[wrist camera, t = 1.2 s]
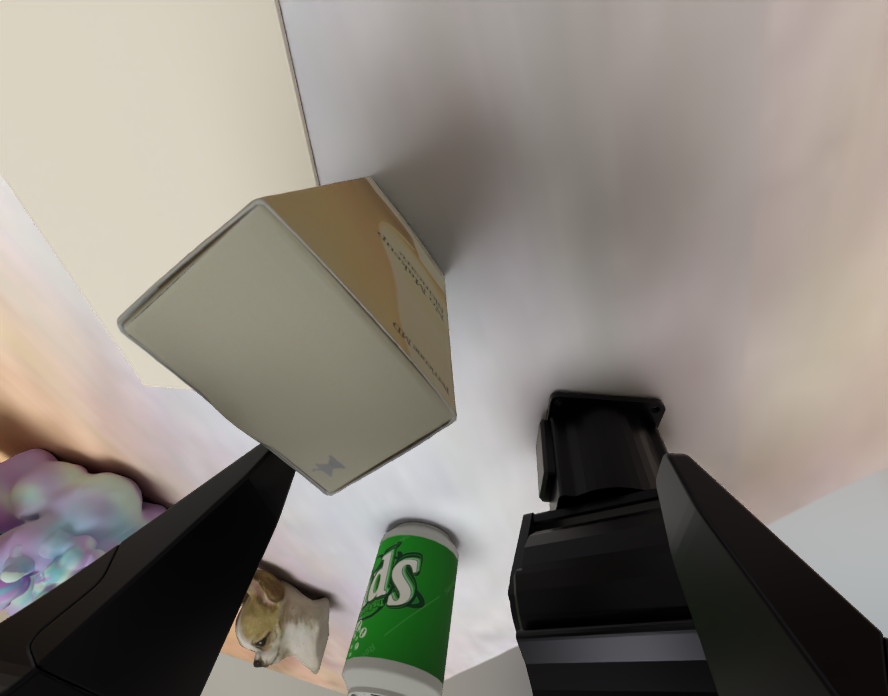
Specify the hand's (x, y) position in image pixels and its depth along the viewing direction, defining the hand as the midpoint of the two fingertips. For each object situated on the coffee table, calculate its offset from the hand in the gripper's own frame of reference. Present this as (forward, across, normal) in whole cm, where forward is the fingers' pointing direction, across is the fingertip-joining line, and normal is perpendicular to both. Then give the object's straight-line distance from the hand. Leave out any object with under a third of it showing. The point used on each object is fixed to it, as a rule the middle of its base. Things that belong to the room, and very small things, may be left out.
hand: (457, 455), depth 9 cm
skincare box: (+12, +6, -1) cm, 13 cm away
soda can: (+12, +8, +28) cm, 31 cm away
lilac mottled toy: (+12, +45, +24) cm, 52 cm away
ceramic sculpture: (+13, +28, +43) cm, 53 cm away
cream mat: (+12, +17, -2) cm, 21 cm away
